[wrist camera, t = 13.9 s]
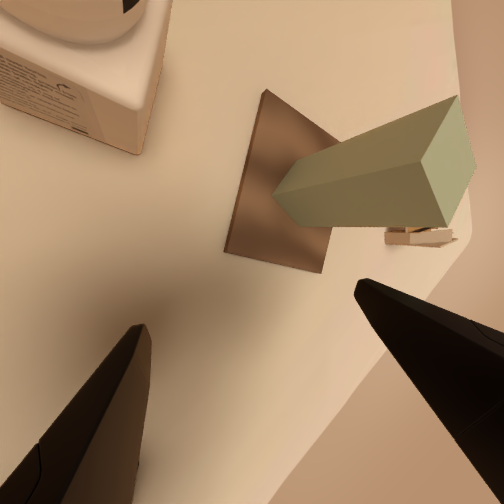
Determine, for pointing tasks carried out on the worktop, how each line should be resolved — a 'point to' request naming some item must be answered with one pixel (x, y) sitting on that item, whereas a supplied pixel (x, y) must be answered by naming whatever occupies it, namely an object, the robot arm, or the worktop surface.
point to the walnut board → (264, 184)
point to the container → (85, 64)
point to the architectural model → (420, 237)
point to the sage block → (385, 174)
